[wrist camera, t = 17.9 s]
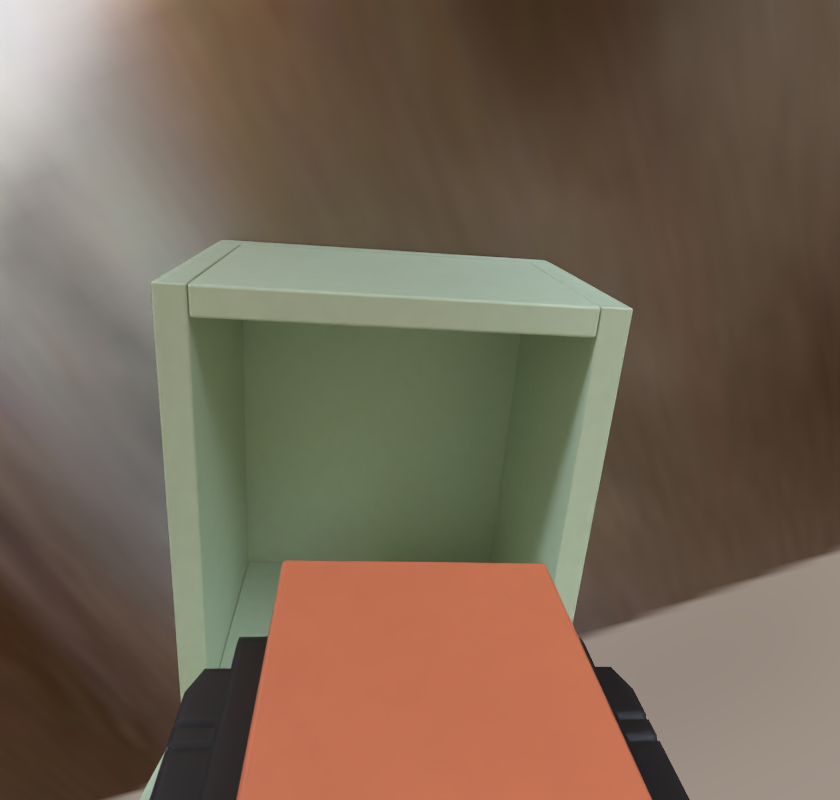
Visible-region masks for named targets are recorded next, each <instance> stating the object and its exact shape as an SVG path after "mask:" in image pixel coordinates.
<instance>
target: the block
mask: <svg viewBox="0 0 840 800" xmlns="http://www.w3.org/2000/svg"><path fill="white" fill-rule="evenodd" d="M236 800H652V798H651V796H650V794H649V792H648V789H647V787H646V785H645V783H644V781H643V778H642V776H641V774H640V772H639V770H638V767H637V765H636V763H635V761H634V759H633V756H632V754H631V752H630V750H629V748H628V745H627V743H626V741H625V739H624V737H623V734H622V732H621V730H620V728H619V726H618V723H617V721H616V719H615V717H614V715H613V712H612V710H611V708H610V706H609V704H608V701H607V699H606V697H605V695H604V693H603V690H602V688H601V686H600V684H599V682H598V679H597V677H596V675H595V673H594V671H593V668H592V666H591V664H590V662H589V660H588V657H587V655H586V653H585V651H584V649H583V646H582V644H581V642H580V640H579V638H578V635H577V633H576V631H575V629H574V627H573V624H572V622H571V620H570V618H569V616H568V613H567V611H566V609H565V607H564V605H563V602H562V600H561V598H560V596H559V593H558V591H557V589H556V587H555V585H554V582H553V580H552V578H551V576H550V574H549V571H548V569H547V567H546V565H545V564H542V563H473V562H390V561H306V560H286V561H284V562H283V564H282V566H281V571H280V577H279V582H278V587H277V592H276V597H275V602H274V608H273V613H272V618H271V623H270V628H269V633H268V639H267V644H266V649H265V654H264V659H263V664H262V670H261V675H260V680H259V685H258V690H257V695H256V701H255V706H254V711H253V716H252V721H251V726H250V732H249V737H248V742H247V747H246V752H245V757H244V763H243V768H242V773H241V778H240V783H239V788H238V794H237V799H236Z"/></svg>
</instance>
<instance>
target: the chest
mask: <svg viewBox="0 0 840 800" xmlns="http://www.w3.org/2000/svg"><path fill="white" fill-rule="evenodd" d="M151 295H152V308H153V322H154V336H155V350H156V364H157V377H158V391H159V405H160V419H161V433H162V447H163V460H164V474H165V488H166V502H167V516H168V529H169V543H170V557H171V571H172V585H173V598H174V612H175V626H176V640H177V654H178V667H179V681H180V695H181V702H182V698H183V695H184V692H185V691H186V690H187V689H188V688H189V687H190V685H191V684H192V683H193V682H194V681H195V680H196V678H197V677H198V676H199V675H200V674H201V673H202V671H203V670H204V669H215V668H231V665H232V661H233V657H234V653H235V649H236V645H237V641H238V639H239V637H268V633H269V628H270V623H271V618H272V613H273V608H274V602H275V597H276V592H277V587H278V582H279V577H280V571H281V566H282V564H283V562H284V561H286V560H306V561H390V562H473V563H542V564H545V565H546V567H547V569H548V571H549V574H550V576H551V578H552V580H553V582H554V585H555V587H556V589H557V591H558V593H559V596H560V598H561V600H562V602H563V605H564V607H565V609H566V611H567V613H568V616H569V618H570V620H571V622H572V624H573V618H574V613H575V608H576V603H577V598H578V592H579V587H580V582H581V577H582V572H583V566H584V561H585V556H586V551H587V546H588V540H589V535H590V530H591V525H592V520H593V514H594V509H595V504H596V499H597V494H598V488H599V483H600V478H601V473H602V468H603V462H604V457H605V452H606V447H607V442H608V436H609V431H610V426H611V421H612V416H613V410H614V405H615V400H616V395H617V390H618V384H619V379H620V374H621V369H622V364H623V358H624V353H625V348H626V343H627V338H628V332H629V327H630V322H631V317H632V312H633V309H632V308H630V307H628V306H626V305H625V304H623V303H621V302H619V301H618V300H616V299H614V298H612V297H610V296H609V295H607V294H605V293H603V292H601V291H600V290H598V289H596V288H594V287H593V286H591V285H589V284H587V283H585V282H584V281H582V280H580V279H578V278H576V277H575V276H573V275H571V274H569V273H567V272H566V271H564V270H562V269H560V268H559V267H557V266H555V265H553V264H551V263H549V262H547V261H546V260H533V259H517V258H502V257H486V256H470V255H455V254H439V253H423V252H408V251H392V250H376V249H361V248H345V247H329V246H313V245H298V244H282V243H266V242H251V241H235V240H221V241H219V242H217V243H216V244H214V245H212V246H211V247H209V248H207V249H206V250H204V251H202V252H201V253H199V254H197V255H196V256H194V257H192V258H190V259H189V260H187V261H185V262H184V263H182V264H180V265H179V266H177V267H175V268H174V269H172V270H170V271H169V272H167V273H165V274H164V275H162V276H160V277H159V278H157V279H155V280H154V281H152V282H151Z"/></svg>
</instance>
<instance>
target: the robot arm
mask: <svg viewBox="0 0 840 800" xmlns="http://www.w3.org/2000/svg"><path fill="white" fill-rule="evenodd" d="M578 638H579V637H578ZM267 639H268V637H239V639H238V641H237V645H236V649H235V653H234V657H233V661H232V665H231V668H215V669H204V670H203V671H202V673H201V674H200V675H199V676H198V677H197V678H196V680H195V681H194V682H193V683H192V684H191V685H190V687H189V688H188V689H187V690H186V691H185V692H184V695H183V698H182V702H181V705H180V708H179V711H178V714H177V717H176V720H175V726H173V729H172V732H171V735H170V738H169V741H168V747H167V750H165V753H164V756H163V760H162V763H161V766H160V769H159V772H158V775H157V778H156V781H155V784H154V787H153V790H152V793H151V796H150V799H149V800H236V799H237V794H238V788H239V783H240V778H241V773H242V768H243V763H244V757H245V752H246V747H247V742H248V737H249V732H250V726H251V721H252V716H253V711H254V706H255V701H256V695H257V690H258V685H259V680H260V675H261V670H262V664H263V659H264V654H265V649H266V644H267ZM579 640H580V642H581V644H582V646H583V649H584V651H585V653H586V655H587V657H588V660H589V662H590V664H591V666H592V668H593V671H594V673H595V675H596V677H597V679H598V682H599V684H600V686H601V688H602V690H603V693H604V695H605V697H606V699H607V701H608V704H609V706H610V708H611V710H612V712H613V715H614V717H615V719H616V721H617V723H618V726H619V728H620V730H621V732H622V734H623V737H624V739H625V741H626V743H627V745H628V748H629V750H630V752H631V754H632V756H633V759H634V761H635V763H636V765H637V767H638V770H639V772H640V774H641V776H642V778H643V781H644V783H645V785H646V787H647V789H648V792H649V794H650V796H651V798H652V800H689V798H688V796H687V794H686V792H685V790H684V788H683V786H682V784H681V782H680V780H679V778H678V776H677V774H676V772H675V770H674V768H673V766H672V765H671V763H670V761H669V759H668V757H667V755H666V753H665V751H664V749H663V747H662V745H661V743H660V741H657V735H656V733H655V732H654V729H653V727H652V725H651V724H650V722H649V720H647V719H646V714H645V712H644V710H643V708H642V706H641V704H640V702H639V700H638V698H637V696H636V694H635V692H634V690H633V689H632V688H631V687H630V686H629V685H628V684H627V683H626V682H625V681H624V680H623V679H622V678H621V677H620V676H619V675H618V674H617V673H616V672H615V671H614V670H613V669H612V668H611V667H595V666H594V664H593V661H592V659H591V657H590V655H589V653H588V650H587V648H586V646H585V644H584V642H583V641H582V639H581V638H579Z"/></svg>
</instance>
